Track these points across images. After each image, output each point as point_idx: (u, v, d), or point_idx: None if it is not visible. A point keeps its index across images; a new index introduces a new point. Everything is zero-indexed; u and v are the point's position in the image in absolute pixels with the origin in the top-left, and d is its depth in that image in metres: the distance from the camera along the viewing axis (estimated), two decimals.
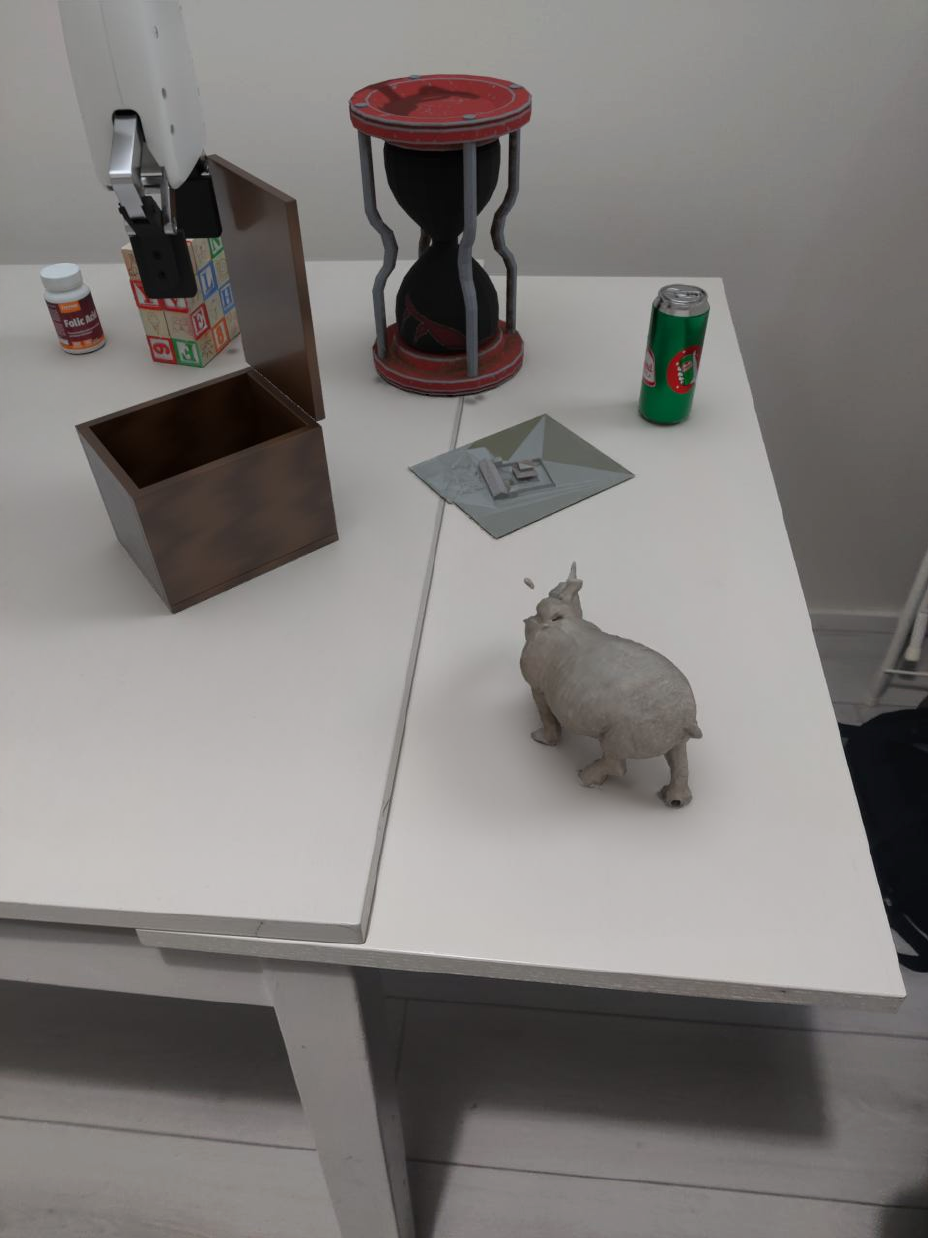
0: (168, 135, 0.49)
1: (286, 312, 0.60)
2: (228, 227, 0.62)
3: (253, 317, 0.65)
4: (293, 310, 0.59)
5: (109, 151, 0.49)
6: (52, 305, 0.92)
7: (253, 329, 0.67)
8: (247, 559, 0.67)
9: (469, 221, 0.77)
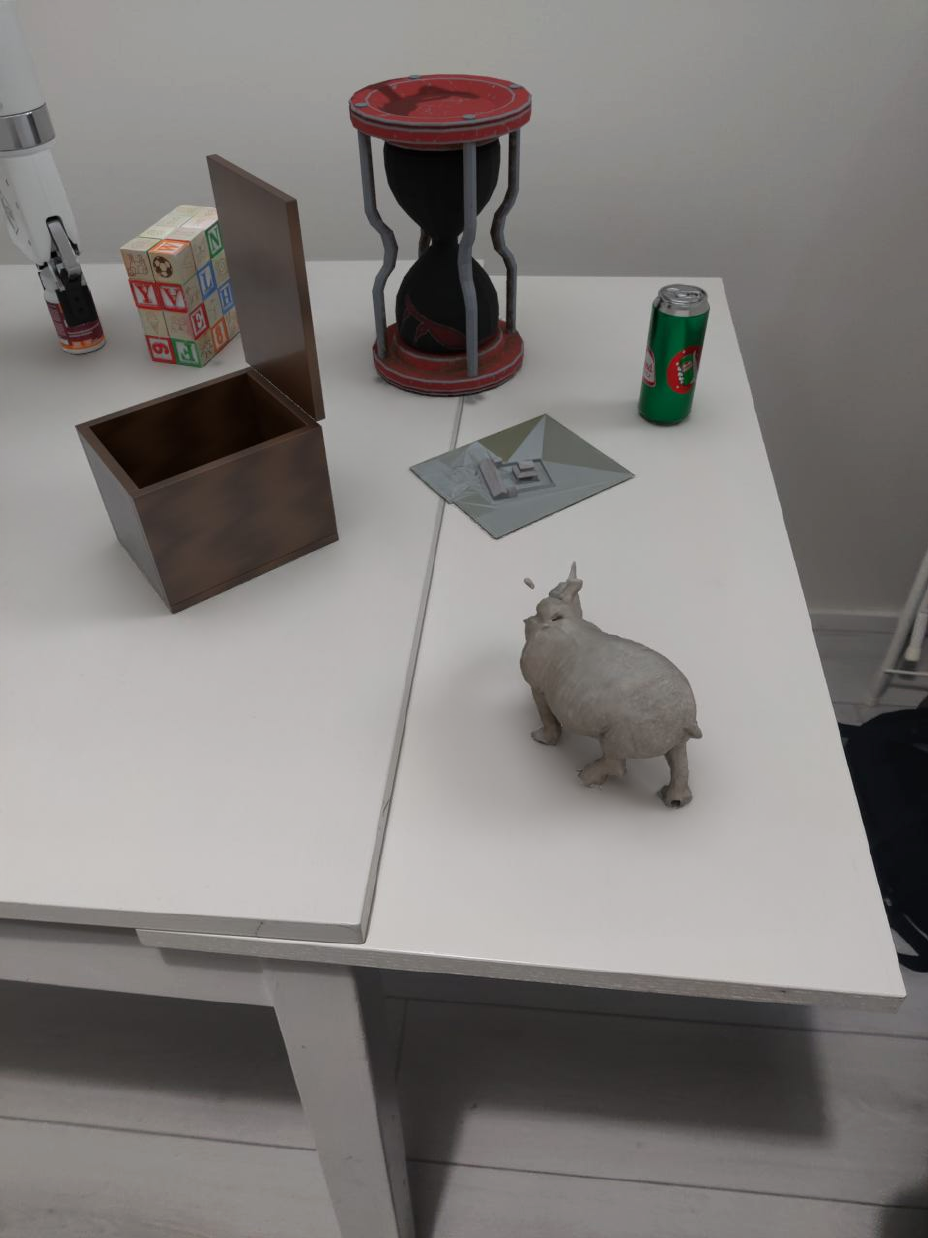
0: (76, 225, 0.86)
1: (286, 312, 0.60)
2: (228, 227, 0.62)
3: (253, 317, 0.65)
4: (293, 310, 0.59)
5: (45, 241, 0.85)
6: (53, 305, 0.92)
7: (253, 329, 0.67)
8: (247, 559, 0.67)
9: (469, 221, 0.77)
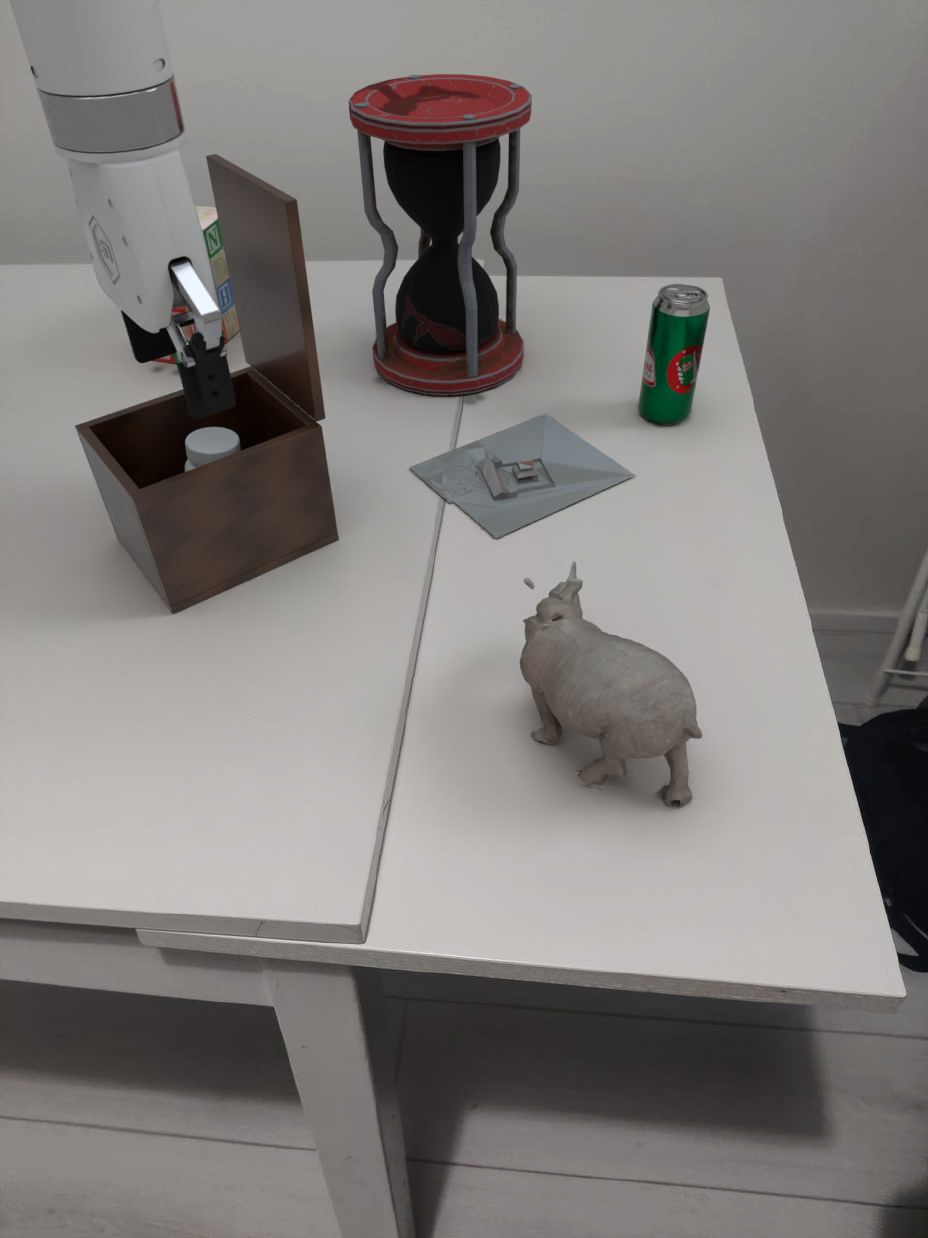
0: (211, 271, 0.54)
1: (286, 312, 0.60)
2: (228, 227, 0.62)
3: (253, 317, 0.65)
4: (293, 310, 0.59)
5: (165, 297, 0.53)
6: None
7: (253, 329, 0.67)
8: (247, 559, 0.67)
9: (469, 221, 0.77)
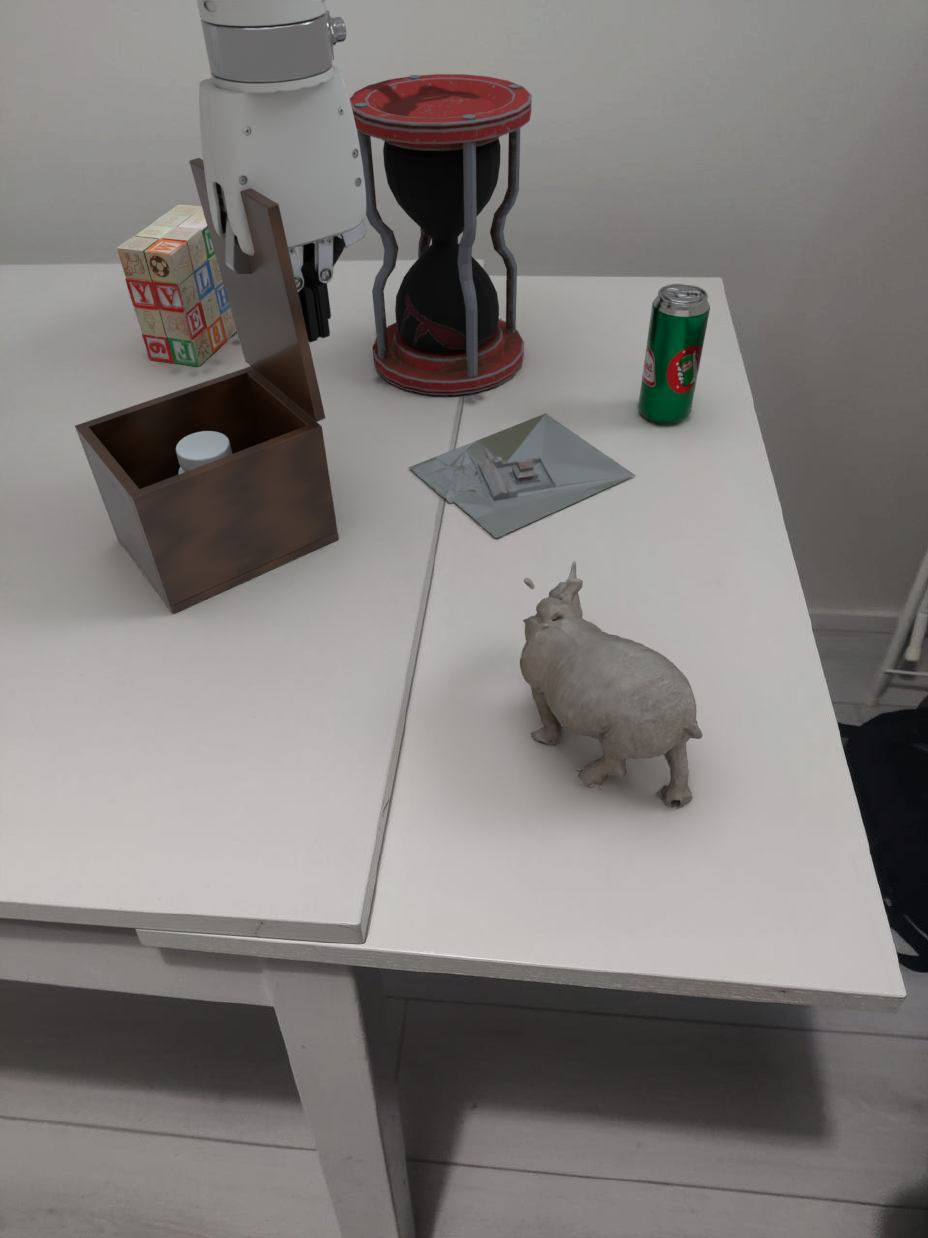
0: (240, 213, 0.56)
1: (278, 316, 0.60)
2: None
3: (248, 319, 0.65)
4: (285, 313, 0.59)
5: (213, 210, 0.58)
6: None
7: (249, 331, 0.66)
8: (247, 559, 0.67)
9: (469, 221, 0.77)
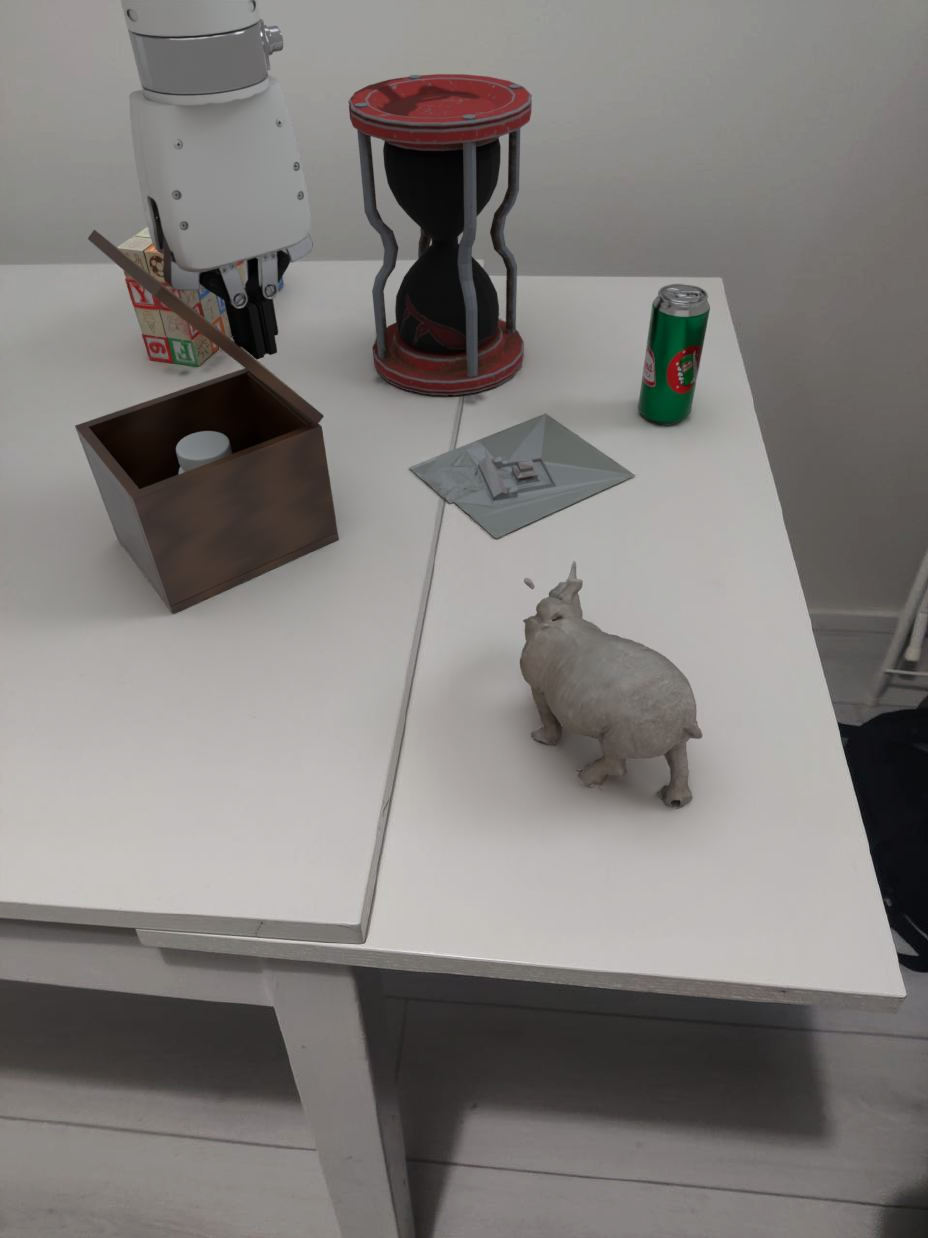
0: (175, 229, 0.54)
1: None
2: None
3: None
4: None
5: (150, 225, 0.56)
6: None
7: None
8: (247, 559, 0.67)
9: (469, 221, 0.77)
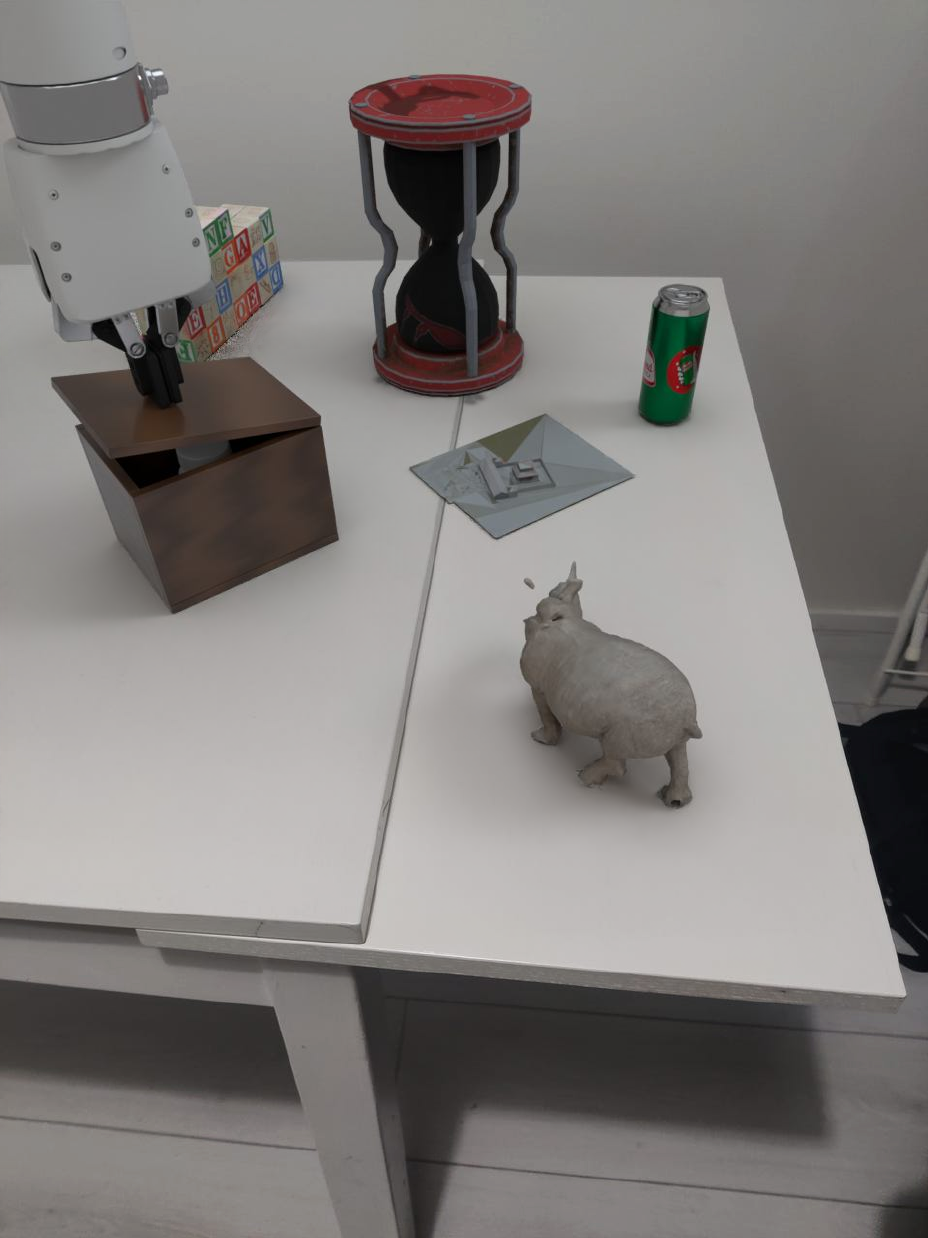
0: (57, 281, 0.52)
1: None
2: None
3: None
4: None
5: (36, 275, 0.54)
6: None
7: None
8: (247, 559, 0.67)
9: (469, 221, 0.77)
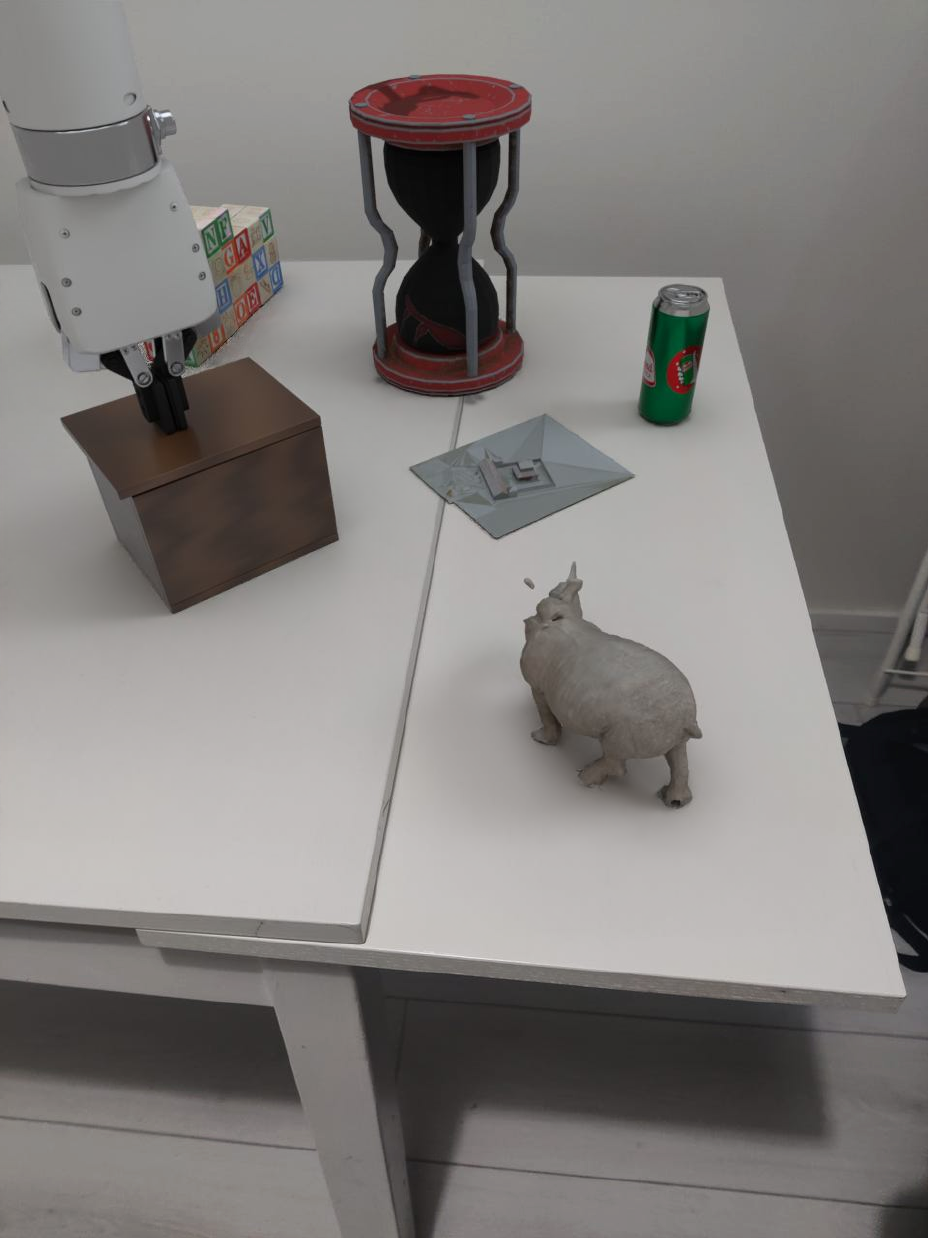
0: (67, 315, 0.53)
1: None
2: None
3: None
4: None
5: (46, 308, 0.55)
6: None
7: None
8: (247, 559, 0.67)
9: (469, 221, 0.77)
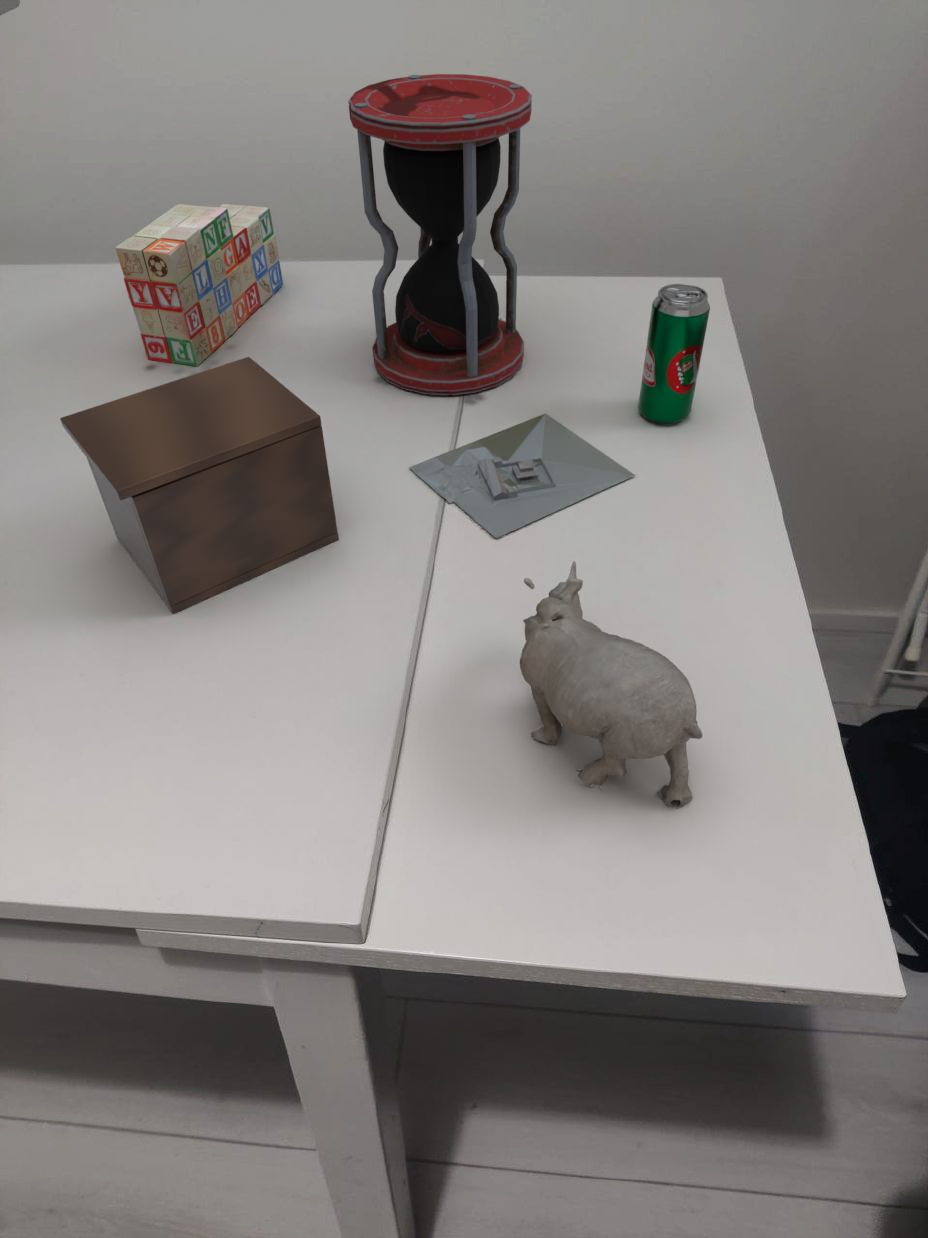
0: None
1: None
2: None
3: None
4: None
5: None
6: None
7: None
8: (247, 559, 0.67)
9: (469, 221, 0.77)
